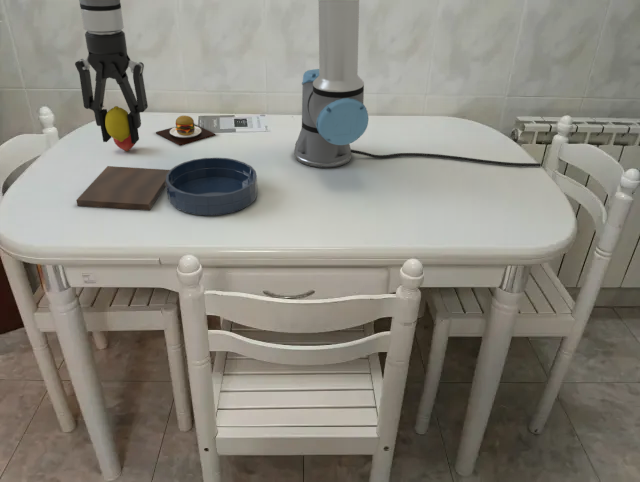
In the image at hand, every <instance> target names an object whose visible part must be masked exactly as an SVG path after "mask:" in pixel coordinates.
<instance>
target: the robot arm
mask: <svg viewBox="0 0 640 482" xmlns="http://www.w3.org/2000/svg"><path fill="white" fill-rule="evenodd" d="M78 1H79V8H80V13H81V19H82V26H83V29H84V30H85V31H86V32H85V33H84V37H85V45H86V49H87V52H88V55H87V58H81V59H79V60H77V61H75V62H74V65H75V68H76V70H77V72H78V74H79V81H80V88H81V96H82V103H83V107H84V109H86V110H91V111H92V112H93V113H94V119H95V124H96V126H98V127H100V131H101V136H102V142H103V143H107V142H109V141H110V139H112V137H111V136H110V135H109V134H108V132H107V130H106V126H105V117H106V114H107V112H108V109H107V108H104V107H105V105H104V101H105V92H106V85H107V80H108V79H112V80H115V82H116V84H117V85H118V86H119V88H120V90H121V93H122V95H123V97H124V101H125V102H126V105H127V107H128V109H129V112H128V122H129V129H130V136H131V143H132V144H135V145H136V144H137V143H138V141H139V140H140V136H139V129H140V127H141V126H142V119H141V113H144V112H145V111H146V110H147V109H148V108H149V105H148V99H147V92H146V86H145V80H144V75H143V74H144V67H145V65H144V63H143V62H141V61H140V62H137V61H134V60H131V58H130V56H129V54H128V47H127V39H126V33H125V32H124V31H123V30H124V27H125V26H124V19H123V12H122V3H121V0H78ZM359 18H360V0H318V57H319V58H318V65H319V67H318V68H315V69H314V68H313V69H308V70H307V71H304V73H303V74H302V82H301V85H302V95H301V97H302V98H301V99H302V100H301V129H300V131H299V135H298V138H297V140H296V142H295V144H294V145H295V146H294V151H293V154H294V159H295V160H296V161H297V162H299V163H301V164H303V165H305V166H309V167H313V168H320V169H323V168H324V169H327V168H329V169H330V168H336V167H340V166H344V165H346V164H347V163H349V162H350V161H351V158H352V154H356V155H361V156H367V157H369V158H374V159H389V158H396V157H428V158H440V159H450V160H458V161H467V162H474V163H481V164H482V163H483V164H489V165H490V164H491V165H500V166H508V167H509V166H510V167H541V166H542V165H541V163H540V162H537V163H536V162H534V163H533V162H509V161H497V160H490V159H489V160H488V159H482V158H481V159H480V158H472V157H465V156H457V155H448V154H439V153H425V152H424V153H423V152H399V153H398V152H397V153H389V154H374V153H369V152H366V151H361V150H357V149H356V150H355V149H351V145H350V144H352V143H354V142H356V141H357V140H359V138H361V137H362V136H363V135H364V134H365V132H366V130H367V128H368V125H369V113H368V110H367V107H366V106H365V104H364V100H365V99H364V98H365V97H364V96H365V93H364V91H365V82H364V80H363V79H362V78H361V77H360V76H359V74H358V72H359V71H358V69H359V66H358V65H359V64H358V63H359V27H360V25H359V24H360V23H359V22H360V19H359ZM90 68H92V69H93V70H94V71H95V79H94V80H95V87H94V92H93V86H92V76H91V72H90V71H91V70H90ZM128 68H130V73H132V80H133V86H134V91H133V88H132V86H131V84H130V81H129V76H128V74H127V70H128ZM134 92H135V93H134Z"/></svg>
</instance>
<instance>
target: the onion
mask: <svg viewBox="0 0 640 482" xmlns="http://www.w3.org/2000/svg"><path fill="white" fill-rule="evenodd" d="M112 139H113V142H114V144H115V145H116V146H117V147H118V148H119V149H121V150H122V151H125V152H129V151H130V150H131V149H132V148H133V147H134V146H135V145H136V143H135V144H132V143H131V136H129V137H128V138H126V139H124V141H122V142H120V141H119V140H117V139H114V138H112Z"/></svg>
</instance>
